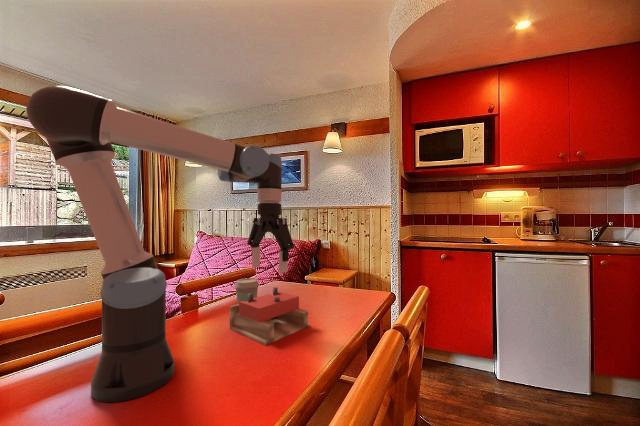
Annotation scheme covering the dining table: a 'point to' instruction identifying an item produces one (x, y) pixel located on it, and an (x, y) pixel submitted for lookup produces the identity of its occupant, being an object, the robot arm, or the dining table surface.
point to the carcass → (268, 324)
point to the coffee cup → (246, 288)
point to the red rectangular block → (268, 306)
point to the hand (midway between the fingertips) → (269, 269)
